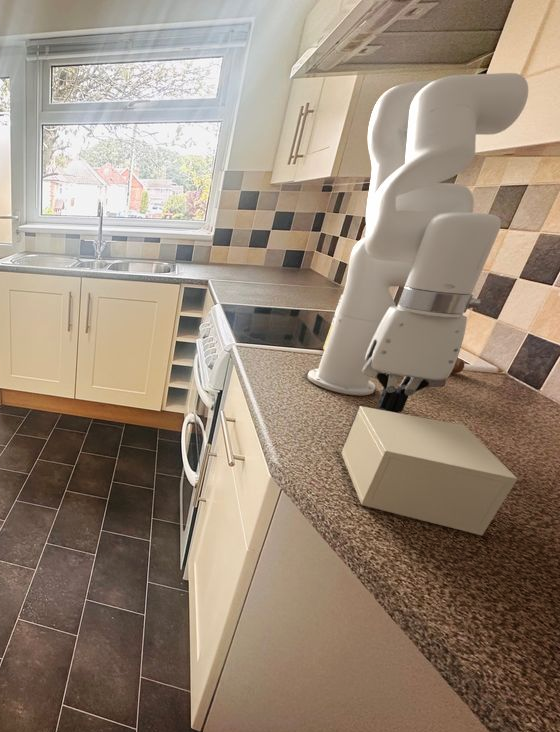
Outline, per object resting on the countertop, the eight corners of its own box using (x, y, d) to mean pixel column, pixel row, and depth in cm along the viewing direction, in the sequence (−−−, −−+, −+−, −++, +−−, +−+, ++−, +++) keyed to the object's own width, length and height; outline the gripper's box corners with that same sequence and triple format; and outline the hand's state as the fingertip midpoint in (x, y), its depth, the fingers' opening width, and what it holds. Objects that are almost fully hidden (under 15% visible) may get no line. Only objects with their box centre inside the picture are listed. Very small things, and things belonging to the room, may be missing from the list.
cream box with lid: (341, 453, 67) (359, 405, 63) (438, 474, 62) (464, 425, 59) (361, 505, 55) (385, 450, 52) (482, 535, 51) (518, 478, 47)
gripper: (483, 305, 62) (433, 414, 69) (365, 293, 68) (330, 396, 74) (511, 314, 56) (454, 434, 63) (379, 300, 61) (339, 412, 68)
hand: (387, 413), depth 69 cm, fingers closed
